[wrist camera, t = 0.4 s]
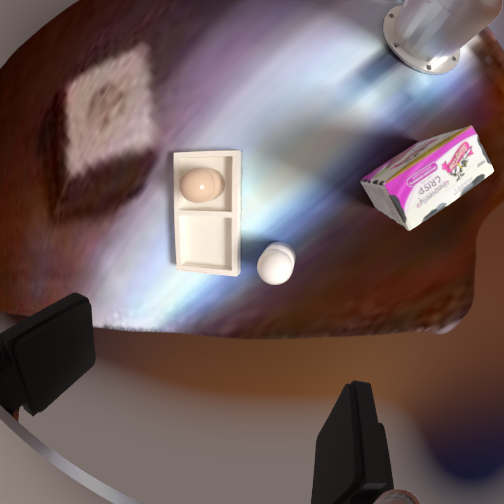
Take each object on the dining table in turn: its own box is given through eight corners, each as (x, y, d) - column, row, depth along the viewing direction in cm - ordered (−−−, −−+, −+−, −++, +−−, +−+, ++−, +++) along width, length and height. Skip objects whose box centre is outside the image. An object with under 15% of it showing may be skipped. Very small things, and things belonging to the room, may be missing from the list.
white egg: (264, 240, 42) (254, 252, 35) (296, 242, 41) (292, 255, 34) (263, 270, 43) (253, 288, 37) (294, 273, 42) (289, 291, 36)
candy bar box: (417, 139, 33) (473, 122, 18) (435, 169, 34) (497, 172, 18) (355, 179, 37) (381, 183, 21) (374, 210, 37) (410, 234, 22)
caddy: (179, 153, 41) (173, 152, 39) (242, 151, 39) (238, 150, 37) (182, 266, 46) (176, 270, 44) (240, 271, 44) (237, 276, 42)
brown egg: (194, 168, 41) (173, 168, 34) (224, 167, 40) (208, 167, 33) (194, 199, 42) (174, 205, 35) (224, 200, 41) (209, 205, 34)
